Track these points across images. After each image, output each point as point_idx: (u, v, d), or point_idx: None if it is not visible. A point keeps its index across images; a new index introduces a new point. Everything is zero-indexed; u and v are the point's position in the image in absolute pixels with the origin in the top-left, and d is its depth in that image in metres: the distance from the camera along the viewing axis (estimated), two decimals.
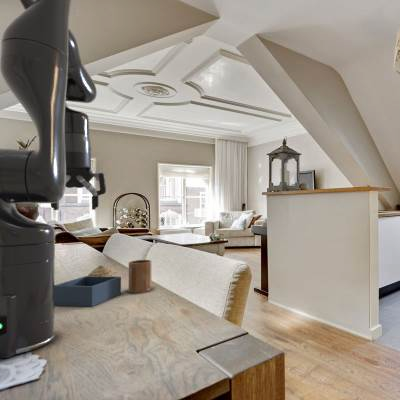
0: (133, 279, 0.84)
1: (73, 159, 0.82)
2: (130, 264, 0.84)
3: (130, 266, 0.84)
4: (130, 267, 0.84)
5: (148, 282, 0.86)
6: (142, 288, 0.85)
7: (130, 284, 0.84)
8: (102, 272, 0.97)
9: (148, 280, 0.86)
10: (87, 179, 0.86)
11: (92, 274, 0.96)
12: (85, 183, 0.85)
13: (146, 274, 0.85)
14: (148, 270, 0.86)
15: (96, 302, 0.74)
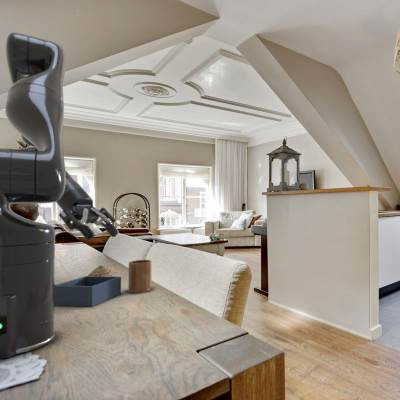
0: (133, 279, 0.84)
1: (84, 193, 0.91)
2: (130, 264, 0.84)
3: (130, 266, 0.84)
4: (130, 267, 0.84)
5: (148, 282, 0.86)
6: (142, 288, 0.85)
7: (130, 284, 0.84)
8: (102, 272, 0.97)
9: (148, 280, 0.86)
10: (97, 212, 0.93)
11: (92, 274, 0.96)
12: (99, 213, 0.92)
13: (146, 274, 0.85)
14: (148, 270, 0.86)
15: (96, 302, 0.74)
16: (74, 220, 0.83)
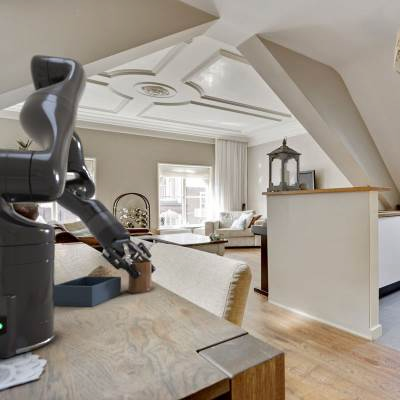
0: (133, 279, 0.84)
1: (123, 227, 0.88)
2: None
3: None
4: None
5: (148, 282, 0.86)
6: (142, 288, 0.85)
7: (130, 284, 0.84)
8: (102, 272, 0.97)
9: (148, 280, 0.86)
10: None
11: (92, 274, 0.96)
12: (138, 247, 0.90)
13: (146, 274, 0.85)
14: (148, 270, 0.86)
15: (96, 302, 0.74)
16: (120, 260, 0.81)
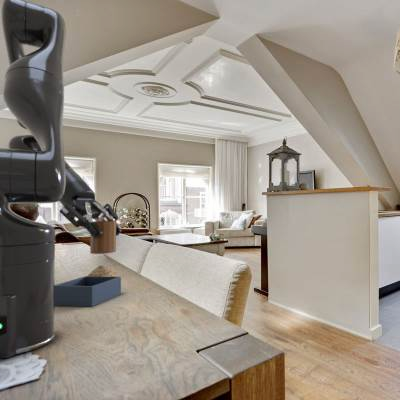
0: (94, 239, 0.78)
1: (86, 185, 0.82)
2: None
3: None
4: None
5: (112, 243, 0.80)
6: (104, 249, 0.79)
7: (91, 244, 0.78)
8: (102, 272, 0.97)
9: (112, 241, 0.80)
10: None
11: (92, 274, 0.96)
12: (102, 208, 0.84)
13: (109, 234, 0.79)
14: (111, 230, 0.80)
15: (96, 302, 0.74)
16: (80, 217, 0.76)
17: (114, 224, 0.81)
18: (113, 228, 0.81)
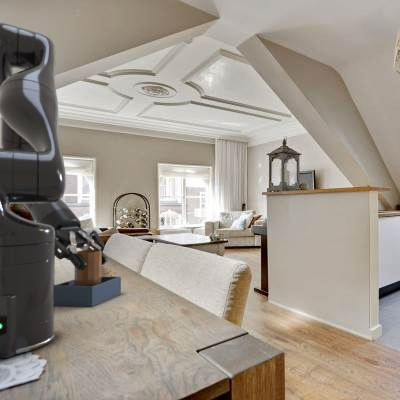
0: (79, 270, 0.76)
1: (70, 214, 0.80)
2: None
3: None
4: None
5: (97, 274, 0.78)
6: (89, 280, 0.76)
7: (76, 276, 0.76)
8: (102, 272, 0.97)
9: (97, 272, 0.78)
10: None
11: None
12: (88, 236, 0.82)
13: (94, 265, 0.77)
14: (96, 260, 0.78)
15: (96, 302, 0.74)
16: (63, 249, 0.73)
17: (99, 254, 0.79)
18: (98, 258, 0.78)
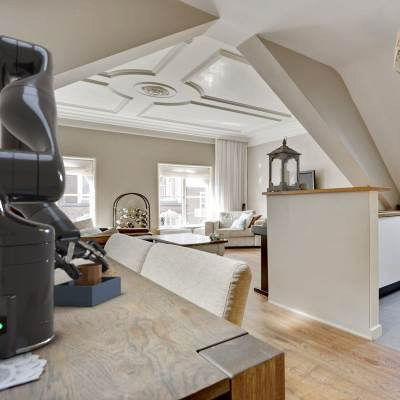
0: (79, 285, 0.76)
1: (70, 224, 0.80)
2: None
3: None
4: None
5: None
6: None
7: None
8: None
9: None
10: (85, 245, 0.82)
11: None
12: (88, 246, 0.82)
13: (94, 279, 0.77)
14: (96, 274, 0.78)
15: (96, 302, 0.74)
16: (57, 258, 0.72)
17: (99, 268, 0.79)
18: (98, 272, 0.78)
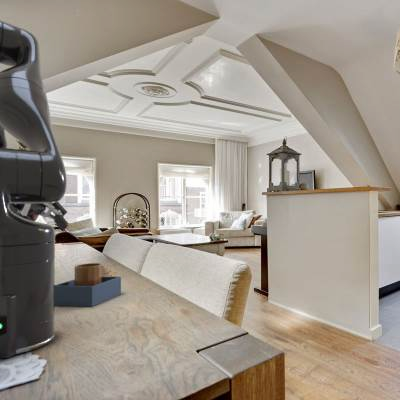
0: (79, 285, 0.76)
1: None
2: (76, 268, 0.76)
3: (76, 270, 0.76)
4: (76, 271, 0.76)
5: None
6: None
7: None
8: (102, 272, 0.97)
9: None
10: (45, 203, 0.85)
11: None
12: (47, 204, 0.84)
13: (94, 279, 0.77)
14: (96, 274, 0.78)
15: (96, 302, 0.74)
16: (12, 210, 0.75)
17: (99, 268, 0.79)
18: (98, 272, 0.78)
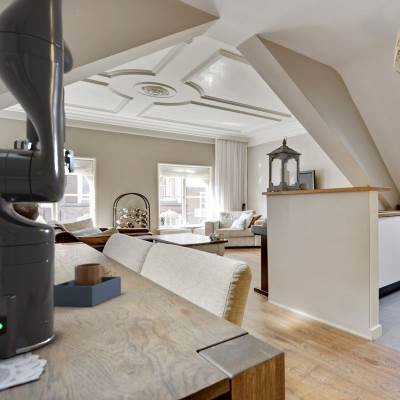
0: (79, 285, 0.76)
1: None
2: (76, 268, 0.76)
3: (76, 270, 0.76)
4: (76, 271, 0.76)
5: None
6: None
7: None
8: (102, 272, 0.97)
9: None
10: None
11: None
12: None
13: (94, 279, 0.77)
14: (96, 274, 0.78)
15: (96, 302, 0.74)
16: None
17: (99, 268, 0.79)
18: (98, 272, 0.78)
